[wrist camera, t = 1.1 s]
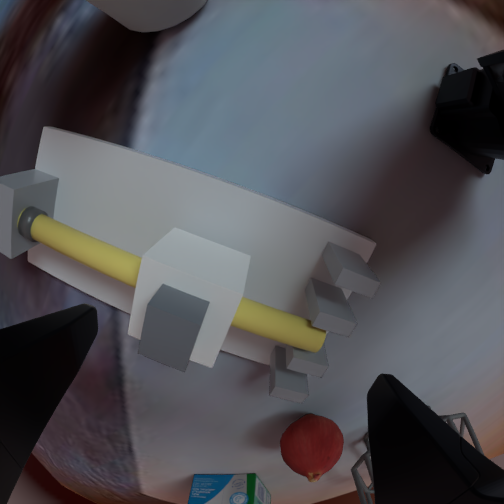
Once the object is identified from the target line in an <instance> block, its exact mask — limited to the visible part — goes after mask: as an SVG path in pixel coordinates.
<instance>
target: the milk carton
mask: <svg viewBox="0 0 504 504" xmlns="http://www.w3.org/2000/svg"><path fill="white" fill-rule="evenodd" d="M188 504H271V495H270V493H269V492H268V491H267V489H266V488H265V486H264V485H263V484H262V482H261V481H260V479H259V478H258V477H257V475H256V474H255V473H254V474H232V475H202V474H194V478H193V482H192V487H191V491H190V496H189V500H188Z"/></svg>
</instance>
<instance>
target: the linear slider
mask: <svg viewBox="0 0 504 504" xmlns="http://www.w3.org/2000/svg"><path fill="white" fill-rule="evenodd" d="M175 227H176V228H178V229H181V230H183V231H186V232H189V233H191V234H194V235H197V236H199V237H202V238H205V239H207V240H210V241H213V242H215V243H218V244H220V245H223V246H226V247H228V248H231V249H234V250H236V251H239V252H242V253H244V254H247V255H250V256H251V257H250V263H249V268H248V273H247V278H246V283H245V288H244V293H243V296H242V299H241V301H240V303H239V306H238V308H237V311H236V313H235V315H234V318H233V320H232V322H231V325H230V327H229V330H228V332H227V334H226V337H225V339H224V341H223V344H222V346H221V349H220V350H223V351H226V352H228V353H231V354H234V355H237V356H240V357H243V358H247V359H250V360H253V361H256V362H259V363H262V364H266V365H269V366H270V386H269V396H273V397H277V398H281V399H285V400H289V401H293V402H297V403H303V402H304V400H305V399H306V398H307V396H308V395H309V392H308V383H307V375H306V374H308V375H312V376H316V377H320V378H321V377H322V376H323V375H324V373H325V372H326V370H327V369H328V368H329V365H328V360H327V356H326V351H325V347H324V340H325V337H326V335H327V334H328V332H333V333H336V334H339V335H342V336H345V337H349V336H350V335H351V333H352V332H353V330H354V328H355V327H356V325H357V322H356V320H355V317H354V315H353V313H352V311H351V308H350V306H349V304H348V302H347V300H348V298H349V296H350V294H351V292H352V291H353V292H356V293H358V294H361V295H364V296H366V297H369V298H373V297H374V295H375V293H376V291H377V290H378V288H379V286H380V284H381V282H380V281H379V279H378V278H377V277H376V275H375V274H374V273H373V271H372V270H371V269H370V267H369V266H368V265H367V262H368V260H369V258H370V256H371V254H372V252H373V250H374V248H375V246H376V243H375V242H374V241H373V240H372V239H369V238H367V237H365V236H363V235H361V234H358V233H356V232H354V231H352V230H349V229H347V228H345V227H342V226H340V225H338V224H335V223H333V222H331V221H328V220H326V219H324V218H321V217H319V216H317V215H314V214H312V213H309V212H307V211H304V210H302V209H300V208H297V207H295V206H292V205H290V204H287V203H285V202H282V201H280V200H277V199H275V198H272V197H269V196H267V195H264V194H262V193H259V192H256V191H254V190H251V189H249V188H246V187H243V186H241V185H238V184H235V183H232V182H230V181H227V180H224V179H221V178H219V177H216V176H213V175H210V174H207V173H204V172H202V171H199V170H196V169H193V168H190V167H187V166H184V165H181V164H178V163H175V162H172V161H169V160H166V159H163V158H160V157H157V156H154V155H150V154H147V153H144V152H141V151H138V150H134V149H131V148H128V147H124V146H121V145H118V144H114V143H111V142H107V141H104V140H100V139H97V138H93V137H90V136H86V135H82V134H78V133H75V132H71V131H67V130H63V129H59V128H55V127H44V128H43V132H42V136H41V141H40V145H39V150H38V156H37V161H36V167H35V169H33V170H28V171H23V172H19V173H14V174H10V175H5V176H1V177H0V252H1V253H3V254H4V255H6V256H7V257H9V258H10V259H13V258H14V257H16V256H18V255H20V254H21V253H23V252H25V251H27V250H28V262H30V263H32V264H34V265H35V266H37V267H39V268H40V269H42V270H44V271H46V272H48V273H49V274H51V275H53V276H55V277H57V278H58V279H60V280H62V281H64V282H66V283H68V284H70V285H72V286H73V287H75V288H77V289H79V290H81V291H83V292H85V293H87V294H89V295H91V296H93V297H95V298H97V299H99V300H101V301H103V302H105V303H108V304H110V305H112V306H114V307H116V308H118V309H120V310H123V311H125V312H127V313H129V314H131V311H132V305H133V300H134V294H135V289H136V284H137V279H138V274H139V269H140V265H141V260H142V256H143V254H145V253H146V252H147V251H148V250H149V249H150V248H151V247H153V246H154V245H155V244H156V243H157V242H158V241H159V240H161V239H162V238H163V237H164V236H165V235H166V234H167V233H169V232H170V231H171V230H172V229H173V228H175Z"/></svg>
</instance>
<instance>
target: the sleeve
mask: <svg viewBox="0 0 504 504" xmlns="http://www.w3.org/2000/svg"><path fill="white" fill-rule="evenodd" d="M250 257H251V256H250V255H247V254H244V253H242V252H239V251H236V250H234V249H231V248H228V247H226V246H223V245H220V244H218V243H215V242H213V241H210V240H207V239H205V238H202V237H199V236H197V235H194V234H191V233H189V232H186V231H183V230H181V229H178V228H176V227H175V228H173V229H172V230H171V231H170V232H169V233H167V234H166V235H165V236H164V237H163V238H162V239H161V240H159V241H158V242H157V243H156V244H155V245H154V246H153V247H151V248H150V249H149V250H148V251H147V252H146V253H145V254H143V256H142V260H141V265H140V269H139V274H138V279H137V284H136V289H135V294H134V300H133V305H132V311H131V317H130V323H129V329H128V335H130V336H132V337H135V338H137V339H139V340H140V344H139V349H138V354H141V355H143V356H145V357H147V358H150V359H152V360H155V361H157V362H159V363H162V364H164V365H167V366H169V367H172V368H175V369H177V370H180V371H182V372H185V370H186V368H187V365H188V362H189V360H191V361H194V362H196V363H199V364H202V365H205V366H208V367H210V368H212V367H213V365H214V363H215V360H216V358H217V356H218V353H219V351H220V349H221V346H222V344H223V341H224V339H225V337H226V334H227V332H228V330H229V327H230V325H231V322H232V320H233V318H234V315H235V313H236V311H237V308H238V306H239V303H240V301H241V299H242V296H243V293H244V288H245V283H246V278H247V273H248V268H249V263H250Z"/></svg>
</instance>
